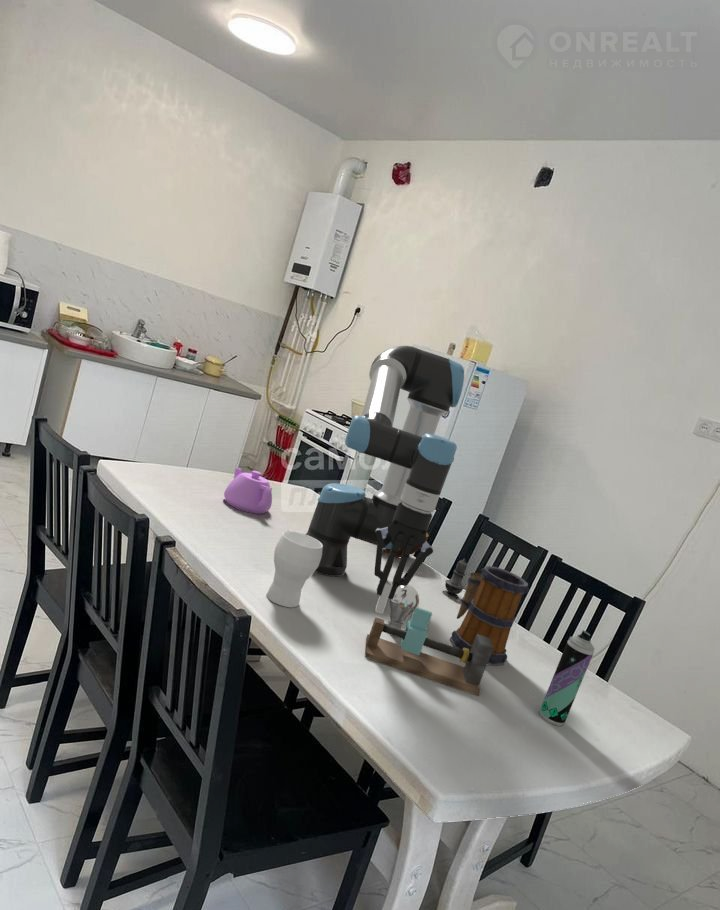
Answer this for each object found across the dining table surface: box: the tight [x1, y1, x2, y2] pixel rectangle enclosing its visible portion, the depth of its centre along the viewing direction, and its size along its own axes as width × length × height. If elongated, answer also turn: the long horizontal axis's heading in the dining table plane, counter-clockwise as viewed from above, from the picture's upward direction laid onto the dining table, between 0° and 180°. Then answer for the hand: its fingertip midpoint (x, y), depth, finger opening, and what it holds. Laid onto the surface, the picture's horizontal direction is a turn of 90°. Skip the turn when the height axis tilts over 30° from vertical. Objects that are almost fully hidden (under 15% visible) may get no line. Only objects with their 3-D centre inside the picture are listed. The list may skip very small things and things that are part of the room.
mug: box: [448, 565, 530, 667], centre depth 170 cm, size 19×14×20 cm
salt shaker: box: [441, 558, 468, 600], centre depth 205 cm, size 6×6×12 cm
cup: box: [266, 530, 323, 608], centre depth 158 cm, size 11×11×15 cm
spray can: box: [538, 630, 595, 727], centre depth 144 cm, size 6×6×20 cm
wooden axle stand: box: [364, 616, 493, 697], centre depth 148 cm, size 25×10×10 cm, turn 88°
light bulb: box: [387, 584, 420, 629], centre depth 161 cm, size 7×7×12 cm
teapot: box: [223, 467, 273, 515], centre depth 224 cm, size 22×16×12 cm
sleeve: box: [400, 606, 433, 655], centre depth 147 cm, size 4×4×9 cm
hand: (379, 610), depth 147 cm, fingers closed
